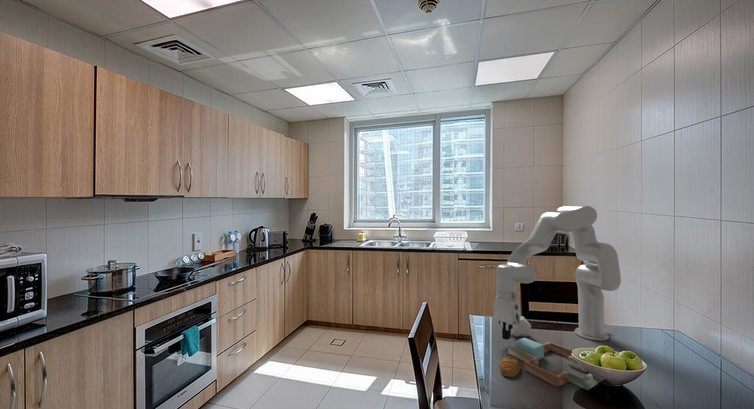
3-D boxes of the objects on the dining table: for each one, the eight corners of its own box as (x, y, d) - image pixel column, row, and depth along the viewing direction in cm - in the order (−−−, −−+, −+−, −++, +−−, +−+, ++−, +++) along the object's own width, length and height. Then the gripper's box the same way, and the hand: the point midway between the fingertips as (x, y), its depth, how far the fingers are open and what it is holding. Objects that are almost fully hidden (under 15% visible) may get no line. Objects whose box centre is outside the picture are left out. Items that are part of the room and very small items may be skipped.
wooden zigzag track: (535, 343, 132) (535, 334, 133) (615, 374, 107) (614, 362, 107) (498, 357, 120) (497, 347, 120) (577, 396, 95) (577, 383, 95)
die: (529, 342, 135) (537, 321, 138) (509, 331, 137) (518, 310, 140) (520, 341, 143) (528, 321, 146) (502, 331, 144) (510, 311, 148)
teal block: (524, 349, 127) (524, 337, 127) (543, 357, 120) (543, 344, 120) (515, 353, 124) (515, 340, 124) (534, 362, 117) (533, 348, 117)
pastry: (519, 381, 104) (518, 369, 105) (497, 376, 108) (497, 365, 108) (520, 368, 113) (520, 357, 113) (500, 364, 116) (500, 353, 116)
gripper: (528, 297, 126) (528, 343, 126) (497, 289, 139) (497, 330, 139) (516, 300, 123) (516, 347, 122) (485, 291, 136) (485, 334, 135)
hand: (506, 338), depth 131 cm, fingers closed
